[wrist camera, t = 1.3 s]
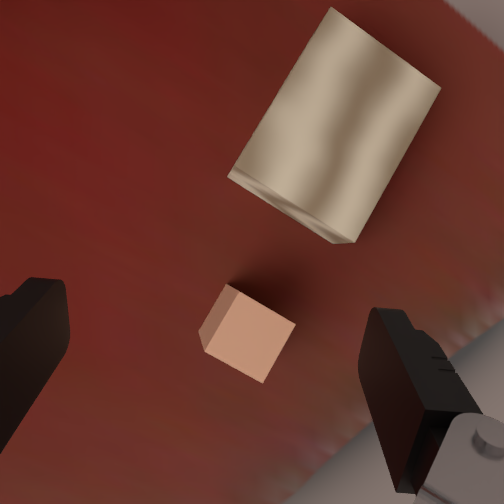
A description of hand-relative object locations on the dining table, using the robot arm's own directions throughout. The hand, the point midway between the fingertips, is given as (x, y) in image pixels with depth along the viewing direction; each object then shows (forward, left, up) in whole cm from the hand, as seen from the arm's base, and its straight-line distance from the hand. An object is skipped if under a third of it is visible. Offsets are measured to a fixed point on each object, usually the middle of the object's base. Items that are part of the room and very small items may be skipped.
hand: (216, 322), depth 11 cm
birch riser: (+5, +18, -28) cm, 33 cm away
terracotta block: (+6, -1, -28) cm, 28 cm away
